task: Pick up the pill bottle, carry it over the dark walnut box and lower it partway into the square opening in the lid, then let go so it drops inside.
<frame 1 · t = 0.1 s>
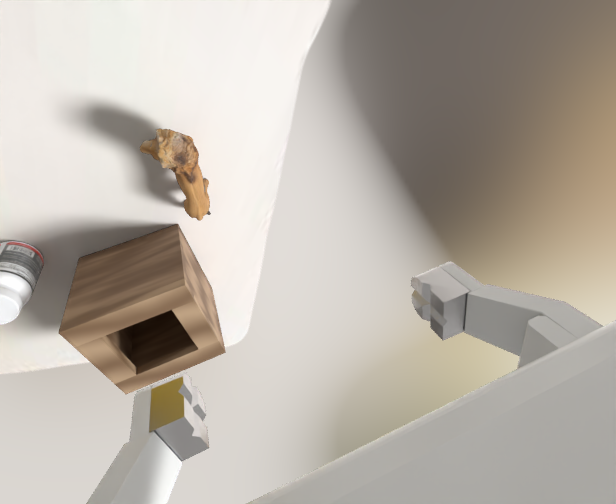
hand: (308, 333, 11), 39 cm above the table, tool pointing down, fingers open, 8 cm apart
slot box: (152, 275, 53), on the table
pill bottle: (18, 256, 44), on the table
lion figurine: (182, 165, 45), on the table
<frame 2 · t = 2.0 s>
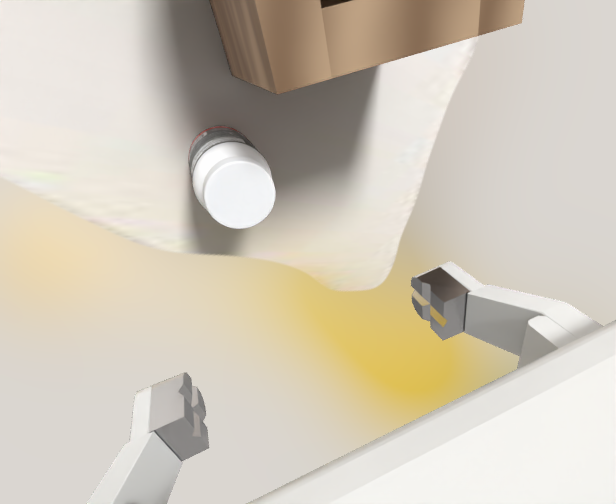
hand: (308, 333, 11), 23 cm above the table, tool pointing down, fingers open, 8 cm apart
pill bottle: (221, 157, 30), on the table
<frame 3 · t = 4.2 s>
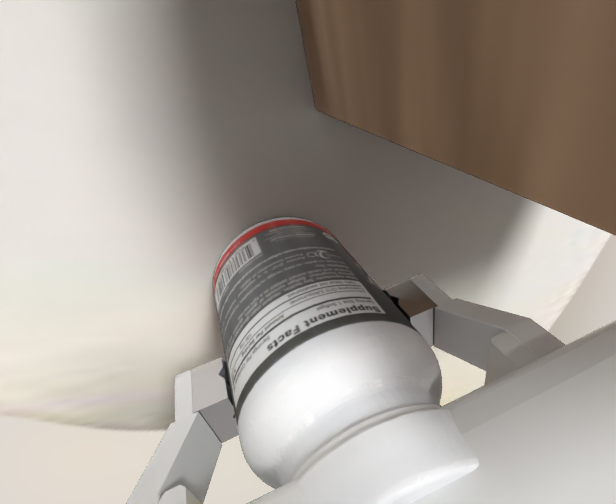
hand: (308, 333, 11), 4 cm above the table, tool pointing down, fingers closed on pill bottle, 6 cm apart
pill bottle: (277, 270, 15), on the table, touching gripper
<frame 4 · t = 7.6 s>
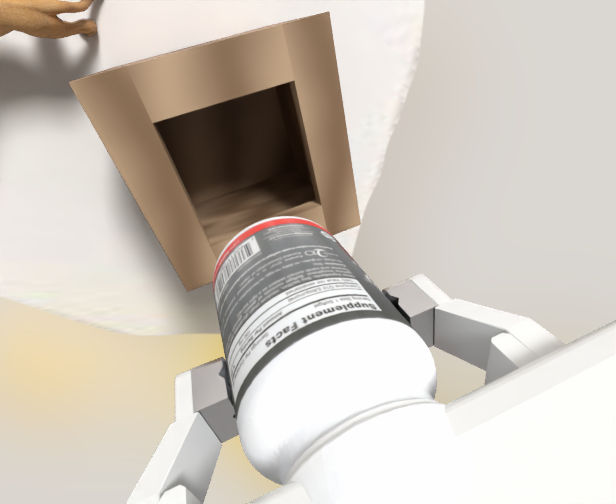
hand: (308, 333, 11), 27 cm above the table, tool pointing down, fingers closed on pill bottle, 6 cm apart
slot box: (221, 128, 33), on the table
pill bottle: (276, 268, 15), point 23 cm above the table, touching gripper
lion figurine: (3, 29, 25), on the table
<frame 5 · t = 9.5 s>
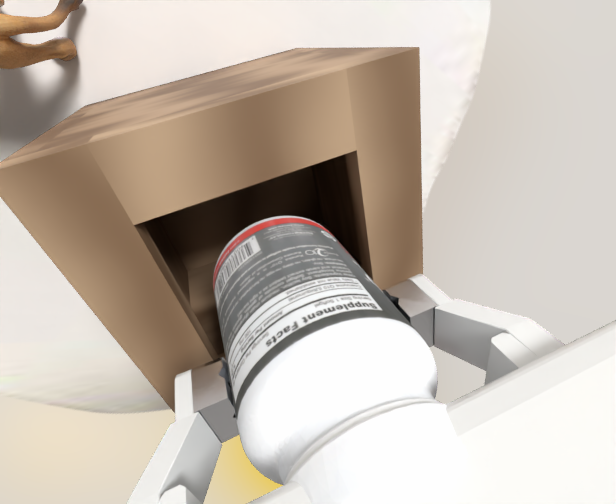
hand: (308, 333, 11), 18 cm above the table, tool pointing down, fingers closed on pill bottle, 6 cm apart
slot box: (232, 175, 26), on the table
pill bottle: (276, 268, 15), point 13 cm above the table, touching gripper
when the fingers open (16 cm above the table, at t = 10.8 s): pill bottle drops 11 cm, resting on slot box.
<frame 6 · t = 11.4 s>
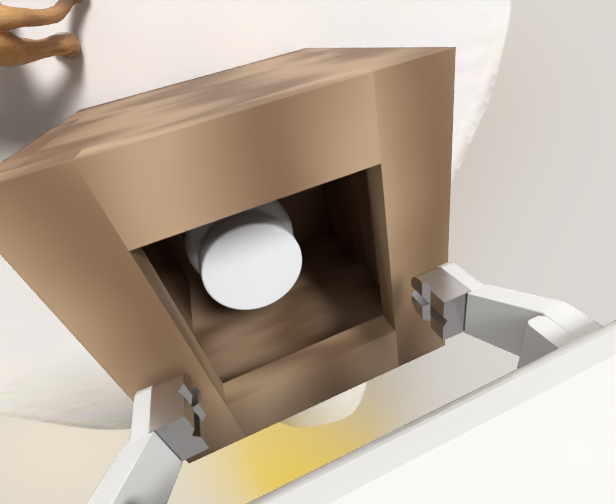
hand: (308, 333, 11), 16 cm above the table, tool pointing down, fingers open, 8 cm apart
slot box: (236, 183, 24), on the table
pill bottle: (221, 193, 23), point 1 cm above the table, touching slot box
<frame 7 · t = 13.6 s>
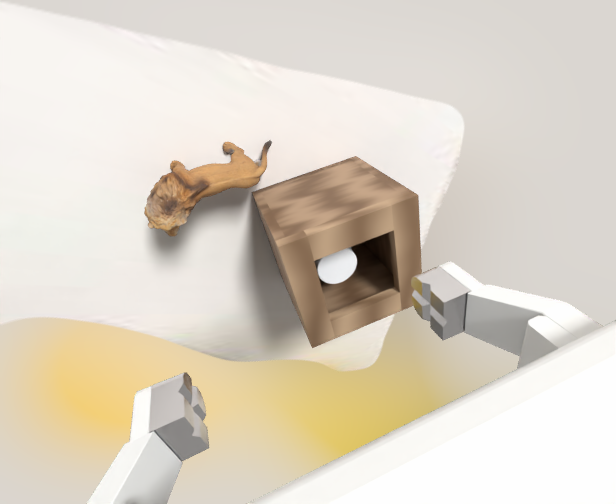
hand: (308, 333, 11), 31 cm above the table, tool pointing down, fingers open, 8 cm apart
slot box: (316, 221, 46), on the table
pill bottle: (310, 227, 45), point 1 cm above the table, touching slot box
lion figurine: (209, 171, 39), on the table
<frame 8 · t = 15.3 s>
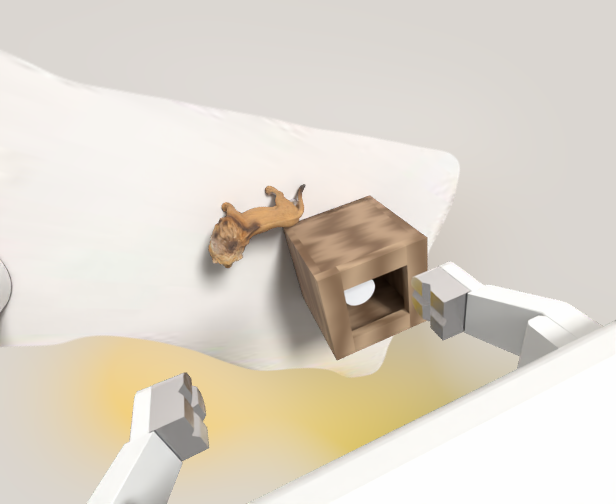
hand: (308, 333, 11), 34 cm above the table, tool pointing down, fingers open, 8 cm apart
slot box: (334, 249, 53), on the table
pill bottle: (329, 254, 53), point 1 cm above the table, touching slot box
lion figurine: (252, 209, 46), on the table
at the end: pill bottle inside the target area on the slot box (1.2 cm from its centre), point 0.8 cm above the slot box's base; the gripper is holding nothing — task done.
